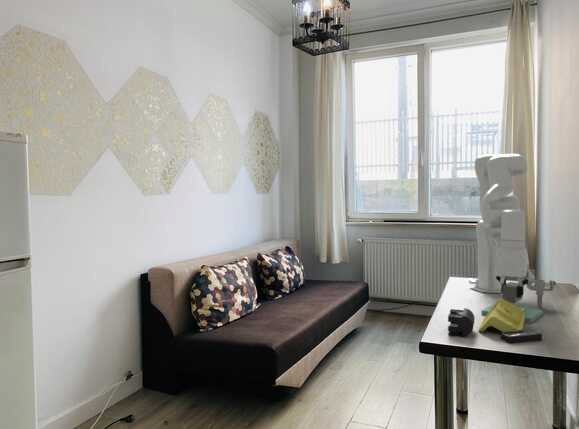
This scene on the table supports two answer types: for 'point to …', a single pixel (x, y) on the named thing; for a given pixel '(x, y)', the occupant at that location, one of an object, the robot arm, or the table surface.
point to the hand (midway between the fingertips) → (512, 295)
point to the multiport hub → (521, 336)
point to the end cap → (460, 322)
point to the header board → (529, 313)
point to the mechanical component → (540, 288)
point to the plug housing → (511, 292)
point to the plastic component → (504, 317)
